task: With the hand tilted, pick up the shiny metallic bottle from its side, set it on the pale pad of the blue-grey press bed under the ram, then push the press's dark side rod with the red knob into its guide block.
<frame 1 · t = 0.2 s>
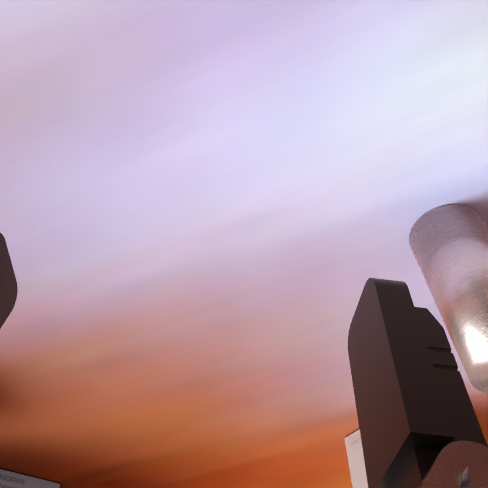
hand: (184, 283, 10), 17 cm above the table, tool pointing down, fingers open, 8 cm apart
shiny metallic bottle: (445, 233, 31), on the table
supplement box: (391, 429, 48), on the table
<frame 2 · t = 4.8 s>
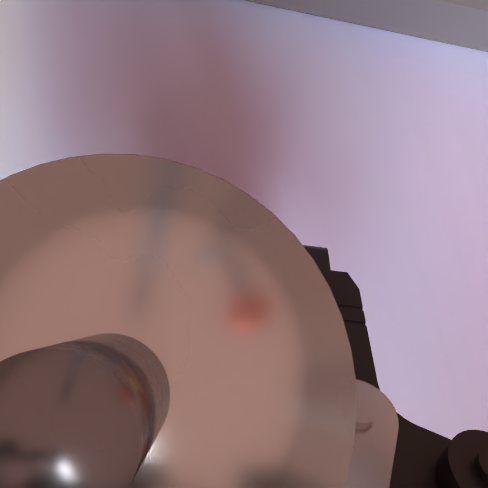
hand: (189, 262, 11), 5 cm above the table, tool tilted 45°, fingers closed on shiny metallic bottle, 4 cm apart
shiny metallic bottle: (195, 329, 15), on the table, touching gripper
when the fingers open (8 cm above the table, at t = 9.8 s): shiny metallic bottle drops 1 cm, resting on press.
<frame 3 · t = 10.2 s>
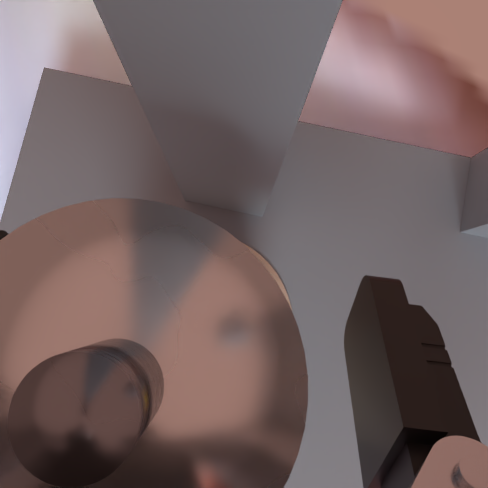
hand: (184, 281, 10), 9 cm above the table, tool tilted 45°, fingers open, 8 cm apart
press: (256, 298, 19), on the table
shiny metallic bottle: (192, 330, 17), point 2 cm above the table, touching press
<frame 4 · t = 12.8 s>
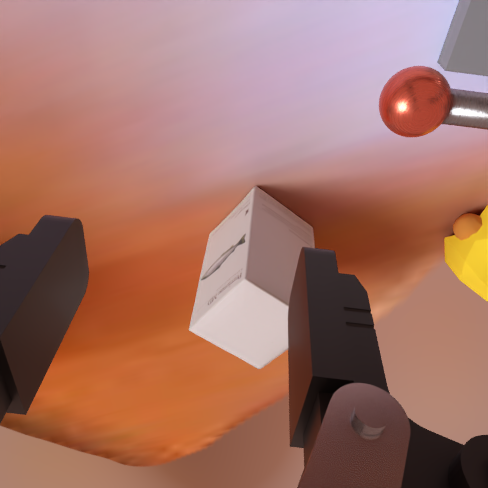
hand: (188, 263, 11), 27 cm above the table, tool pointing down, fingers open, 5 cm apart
supplement box: (260, 228, 44), on the table
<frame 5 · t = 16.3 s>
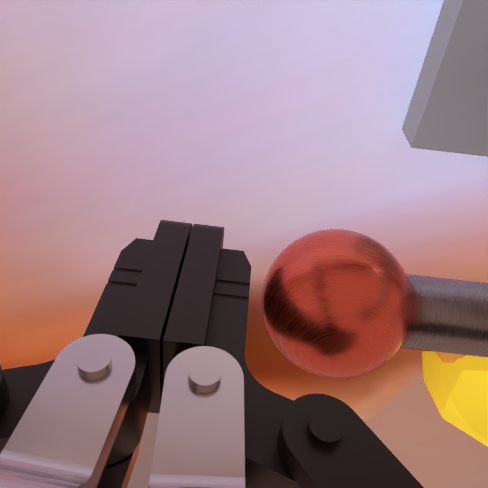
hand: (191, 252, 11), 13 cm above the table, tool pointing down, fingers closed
supplement box: (174, 333, 33), on the table
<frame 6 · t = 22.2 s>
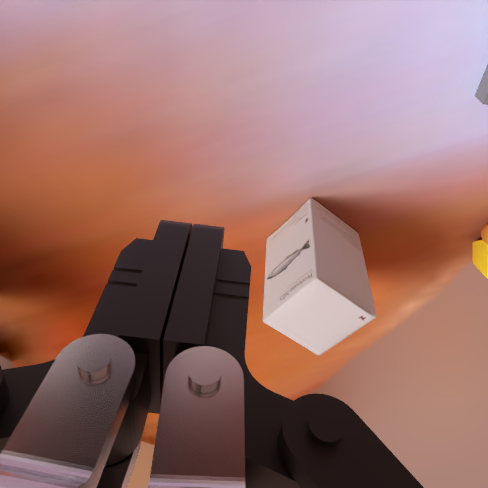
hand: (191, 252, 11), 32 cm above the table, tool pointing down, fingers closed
supplement box: (311, 234, 50), on the table
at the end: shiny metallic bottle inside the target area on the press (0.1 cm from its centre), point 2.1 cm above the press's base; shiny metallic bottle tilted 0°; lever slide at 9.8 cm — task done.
